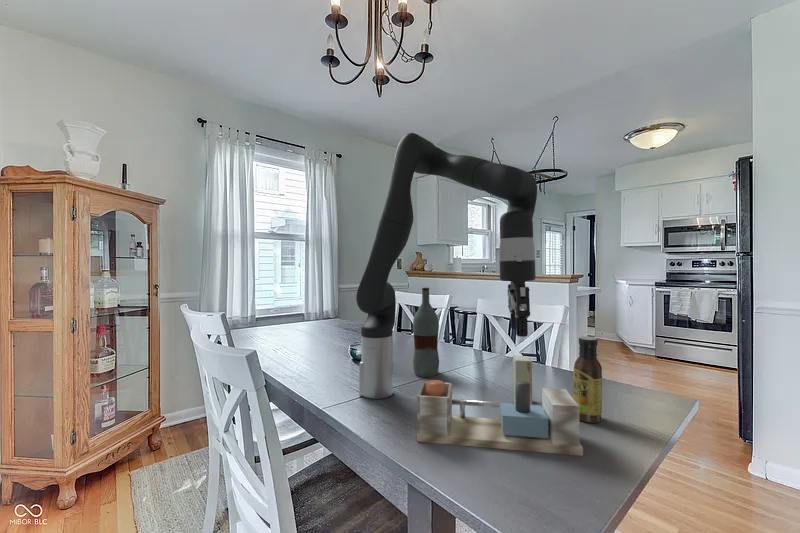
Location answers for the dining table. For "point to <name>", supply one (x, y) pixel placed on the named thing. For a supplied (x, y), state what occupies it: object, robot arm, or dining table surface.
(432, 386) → the button
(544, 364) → the dining table surface
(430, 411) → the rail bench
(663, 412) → the dining table surface
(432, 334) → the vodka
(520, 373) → the skincare box
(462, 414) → the handrail
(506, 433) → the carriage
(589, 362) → the sauce bottle
